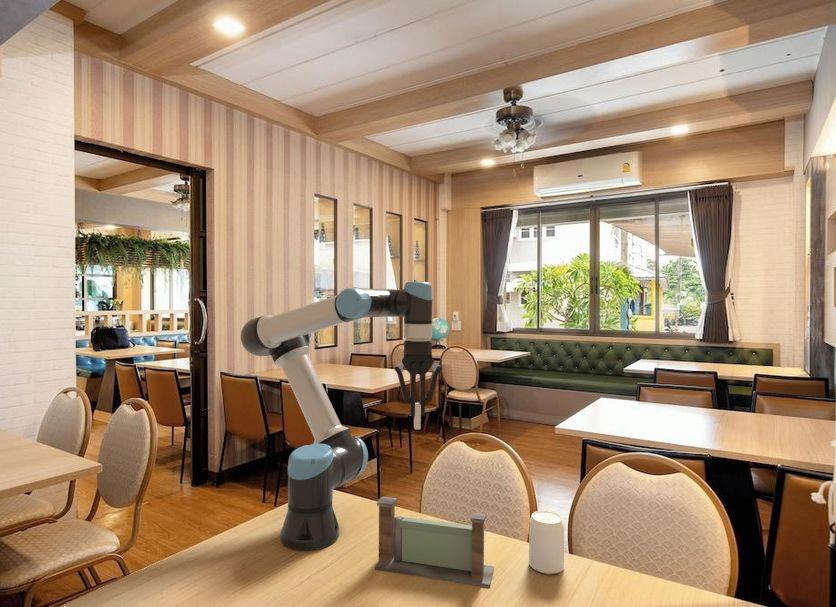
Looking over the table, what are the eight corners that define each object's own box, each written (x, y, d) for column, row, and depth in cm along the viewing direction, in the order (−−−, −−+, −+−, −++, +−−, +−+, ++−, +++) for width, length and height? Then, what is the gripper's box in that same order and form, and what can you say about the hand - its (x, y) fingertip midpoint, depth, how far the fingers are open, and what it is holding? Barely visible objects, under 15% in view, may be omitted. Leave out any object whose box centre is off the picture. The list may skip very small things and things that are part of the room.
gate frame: (383, 552, 126) (384, 494, 126) (493, 568, 119) (494, 506, 119) (372, 569, 118) (373, 506, 118) (490, 587, 111) (490, 520, 111)
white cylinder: (565, 578, 115) (565, 526, 115) (529, 574, 117) (529, 522, 116) (562, 560, 123) (563, 511, 123) (528, 556, 125) (529, 508, 124)
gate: (395, 555, 122) (396, 515, 122) (483, 568, 117) (484, 526, 117) (392, 560, 120) (393, 519, 120) (482, 574, 114) (482, 531, 114)
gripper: (439, 338, 138) (438, 424, 138) (392, 338, 136) (391, 425, 136) (444, 340, 130) (443, 431, 131) (394, 340, 129) (393, 432, 129)
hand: (417, 428), depth 134 cm, fingers closed
